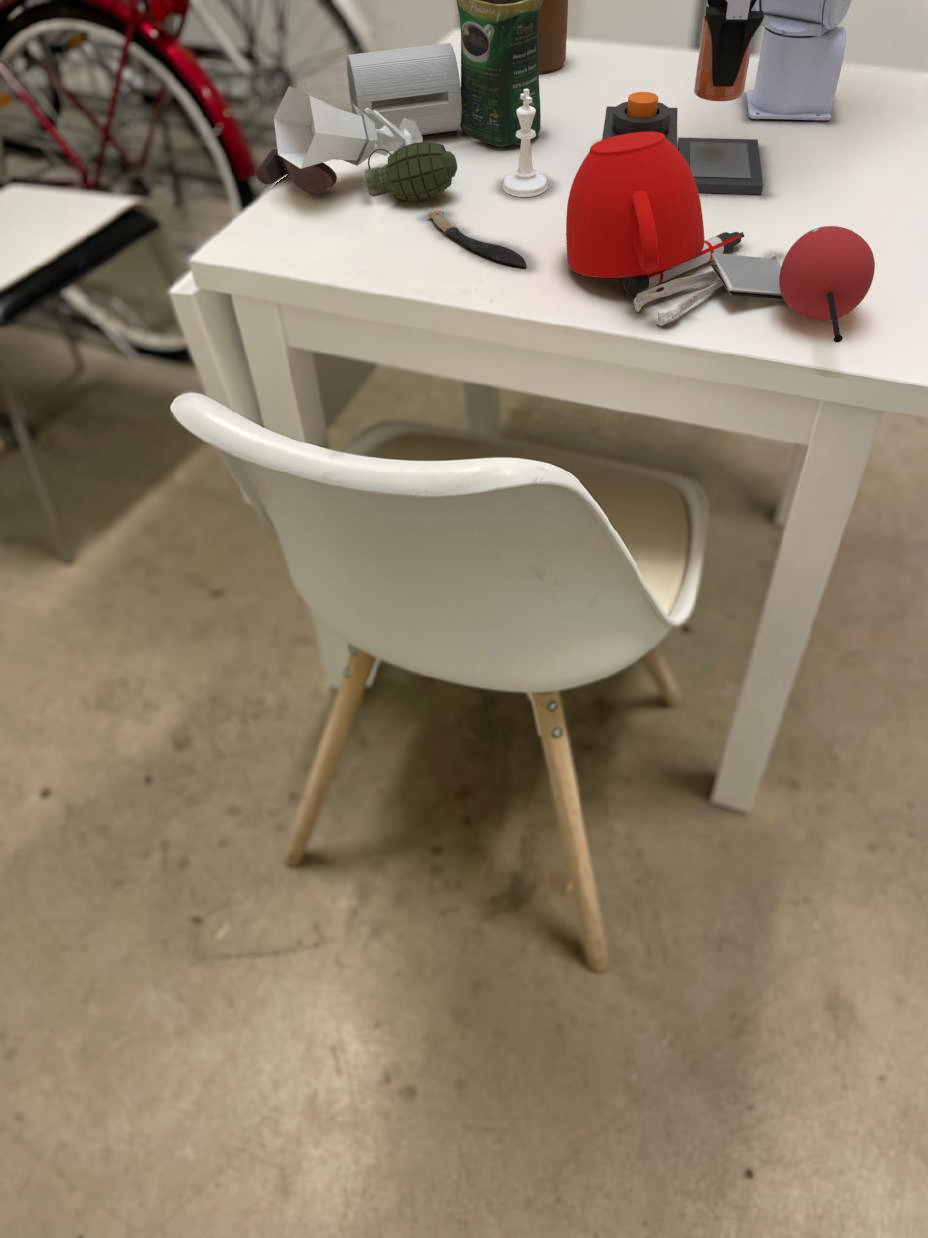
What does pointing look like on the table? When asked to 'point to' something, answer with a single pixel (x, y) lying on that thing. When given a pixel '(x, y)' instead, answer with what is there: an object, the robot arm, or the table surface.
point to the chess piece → (525, 157)
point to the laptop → (748, 275)
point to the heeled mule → (296, 173)
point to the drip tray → (723, 164)
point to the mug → (552, 35)
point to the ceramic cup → (633, 208)
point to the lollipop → (827, 274)
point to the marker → (712, 245)
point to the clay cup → (704, 72)
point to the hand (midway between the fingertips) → (722, 74)
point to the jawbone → (678, 286)
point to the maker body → (640, 122)
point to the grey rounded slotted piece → (408, 86)
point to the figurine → (334, 132)
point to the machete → (478, 243)
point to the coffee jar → (498, 67)
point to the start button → (642, 105)
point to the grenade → (413, 172)
